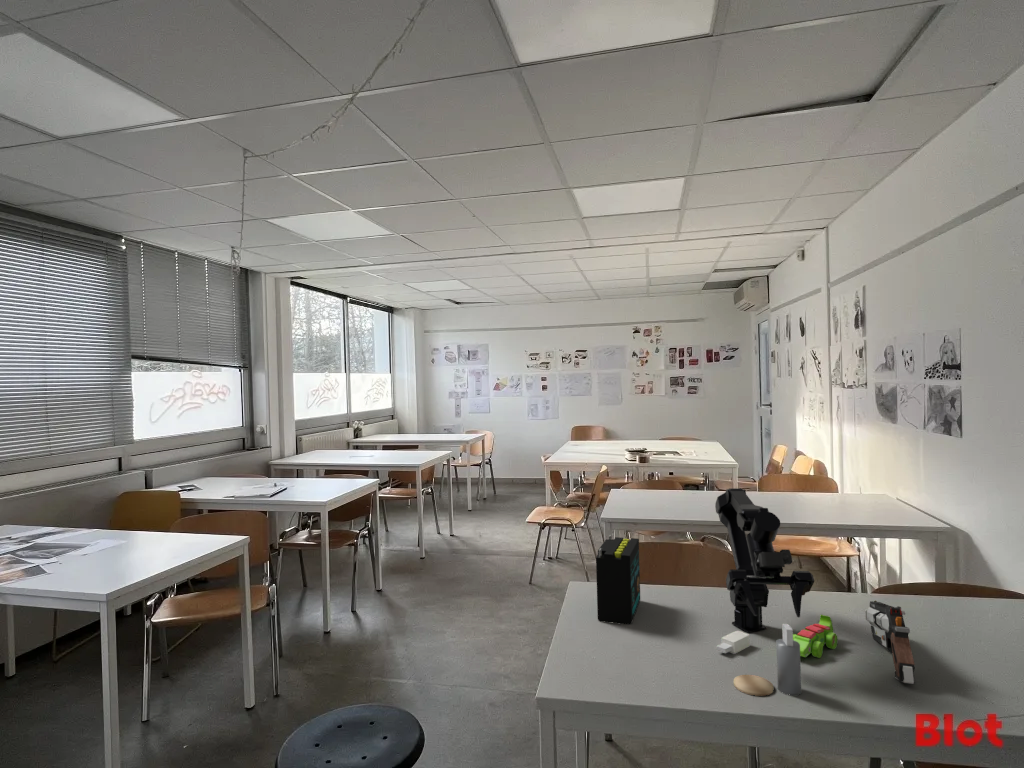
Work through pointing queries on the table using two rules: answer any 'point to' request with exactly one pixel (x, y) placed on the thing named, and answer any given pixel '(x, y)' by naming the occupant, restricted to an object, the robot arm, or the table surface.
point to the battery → (618, 580)
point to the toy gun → (892, 637)
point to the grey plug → (788, 663)
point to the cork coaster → (753, 685)
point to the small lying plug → (734, 642)
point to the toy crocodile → (816, 637)
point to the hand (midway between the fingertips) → (777, 615)
